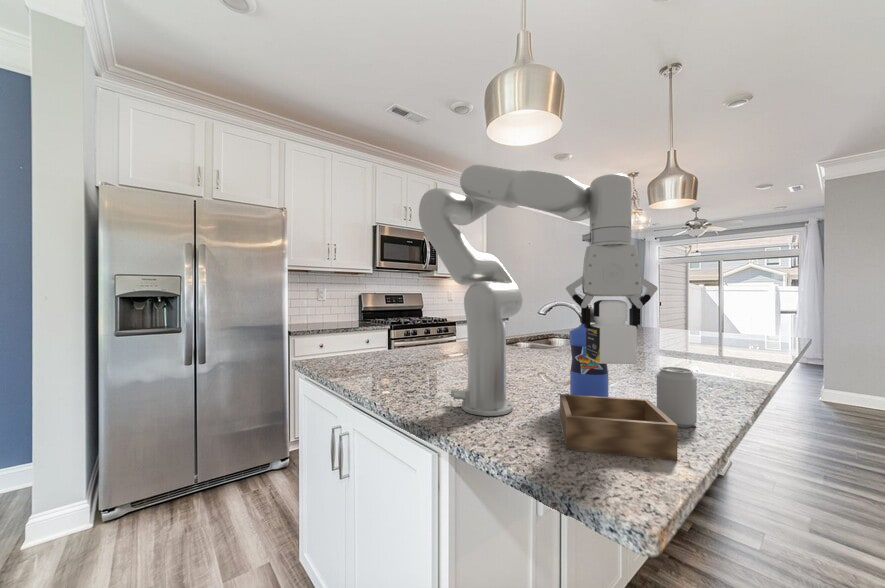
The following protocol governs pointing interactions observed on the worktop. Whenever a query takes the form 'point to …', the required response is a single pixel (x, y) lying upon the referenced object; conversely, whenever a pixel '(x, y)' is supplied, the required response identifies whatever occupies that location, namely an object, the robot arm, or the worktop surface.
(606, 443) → the crate
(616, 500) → the worktop surface
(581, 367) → the water bottle
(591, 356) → the medicine bottle
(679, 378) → the can
